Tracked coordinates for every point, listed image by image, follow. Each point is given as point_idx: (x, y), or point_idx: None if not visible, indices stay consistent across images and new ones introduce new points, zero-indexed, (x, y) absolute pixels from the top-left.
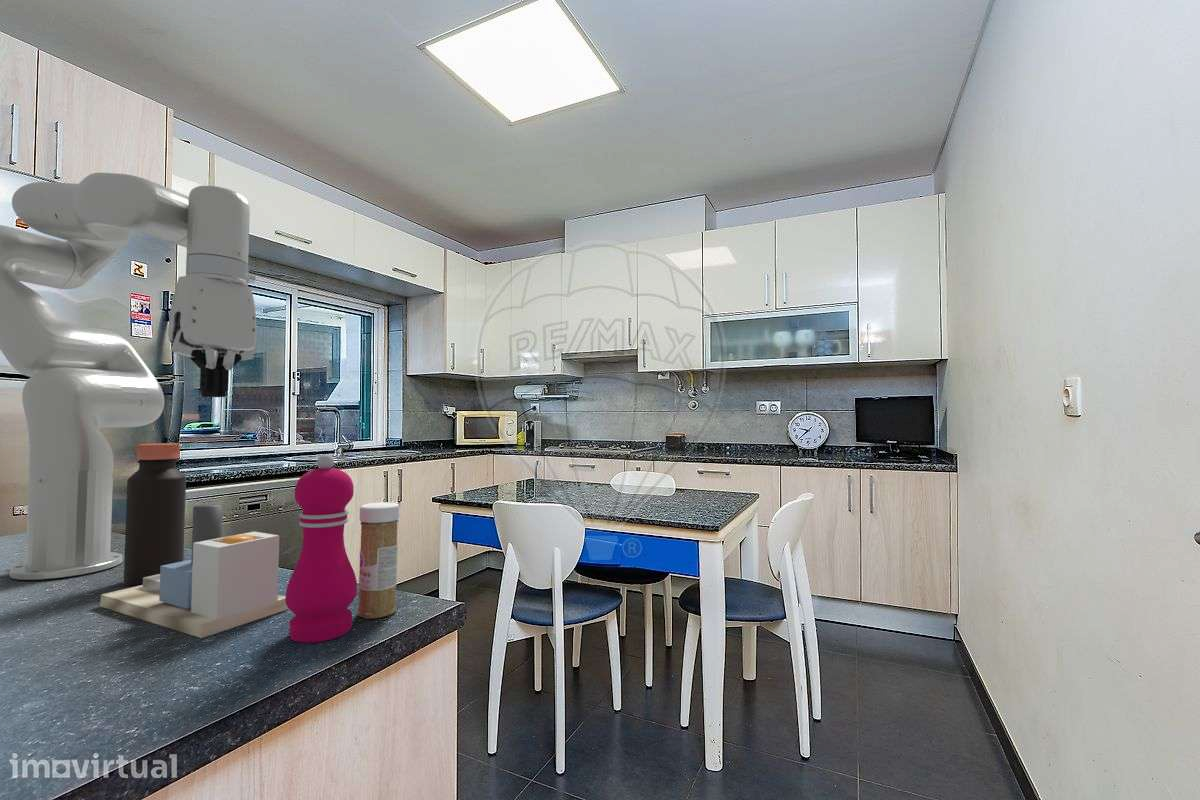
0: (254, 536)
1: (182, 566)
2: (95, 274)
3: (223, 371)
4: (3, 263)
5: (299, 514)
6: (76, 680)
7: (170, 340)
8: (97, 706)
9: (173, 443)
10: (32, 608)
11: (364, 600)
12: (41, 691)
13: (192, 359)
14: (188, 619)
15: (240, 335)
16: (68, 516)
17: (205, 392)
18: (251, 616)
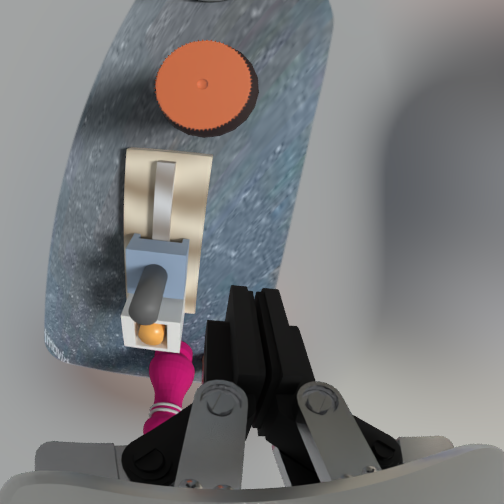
0: (167, 337)
1: (134, 269)
2: None
3: (258, 430)
4: None
5: (150, 412)
6: (68, 289)
7: (14, 487)
8: (68, 323)
9: (248, 80)
10: (105, 91)
11: (202, 368)
12: (56, 286)
13: (150, 437)
14: (126, 289)
15: None
16: None
17: (228, 314)
18: None
